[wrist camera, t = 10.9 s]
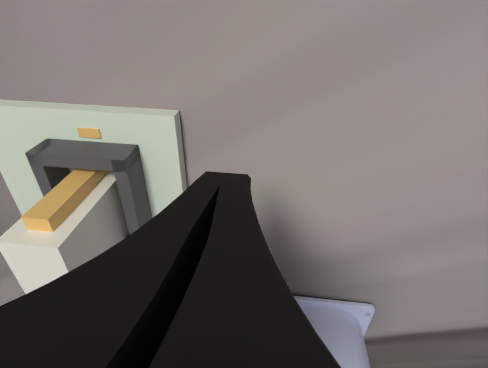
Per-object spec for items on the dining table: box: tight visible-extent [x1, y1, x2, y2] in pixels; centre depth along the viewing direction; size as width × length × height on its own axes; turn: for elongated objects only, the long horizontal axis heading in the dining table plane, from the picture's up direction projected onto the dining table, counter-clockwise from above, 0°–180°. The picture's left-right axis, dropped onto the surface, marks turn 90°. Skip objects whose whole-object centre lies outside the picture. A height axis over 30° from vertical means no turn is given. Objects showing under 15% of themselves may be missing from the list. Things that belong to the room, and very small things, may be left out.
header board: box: [0, 100, 187, 237], centre depth 22 cm, size 16×13×3 cm
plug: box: [0, 168, 129, 294], centre depth 18 cm, size 5×3×7 cm, turn 179°
